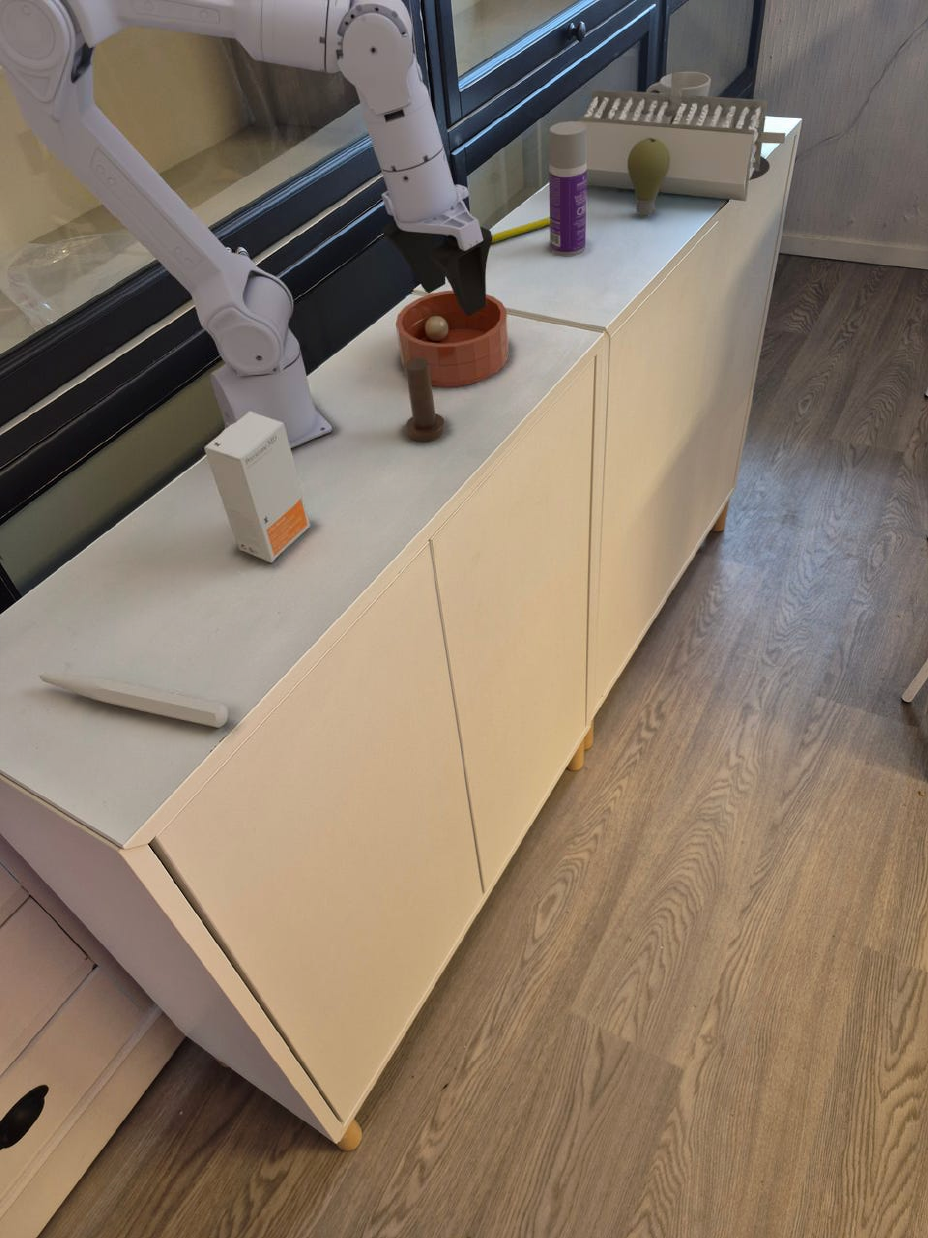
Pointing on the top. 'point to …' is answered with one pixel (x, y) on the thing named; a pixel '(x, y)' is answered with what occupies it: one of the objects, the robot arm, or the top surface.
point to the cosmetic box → (258, 485)
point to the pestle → (422, 403)
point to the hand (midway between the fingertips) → (455, 298)
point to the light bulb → (648, 172)
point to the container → (567, 188)
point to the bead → (436, 328)
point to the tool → (143, 699)
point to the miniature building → (678, 139)
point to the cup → (685, 84)
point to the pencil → (521, 230)
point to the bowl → (455, 339)
